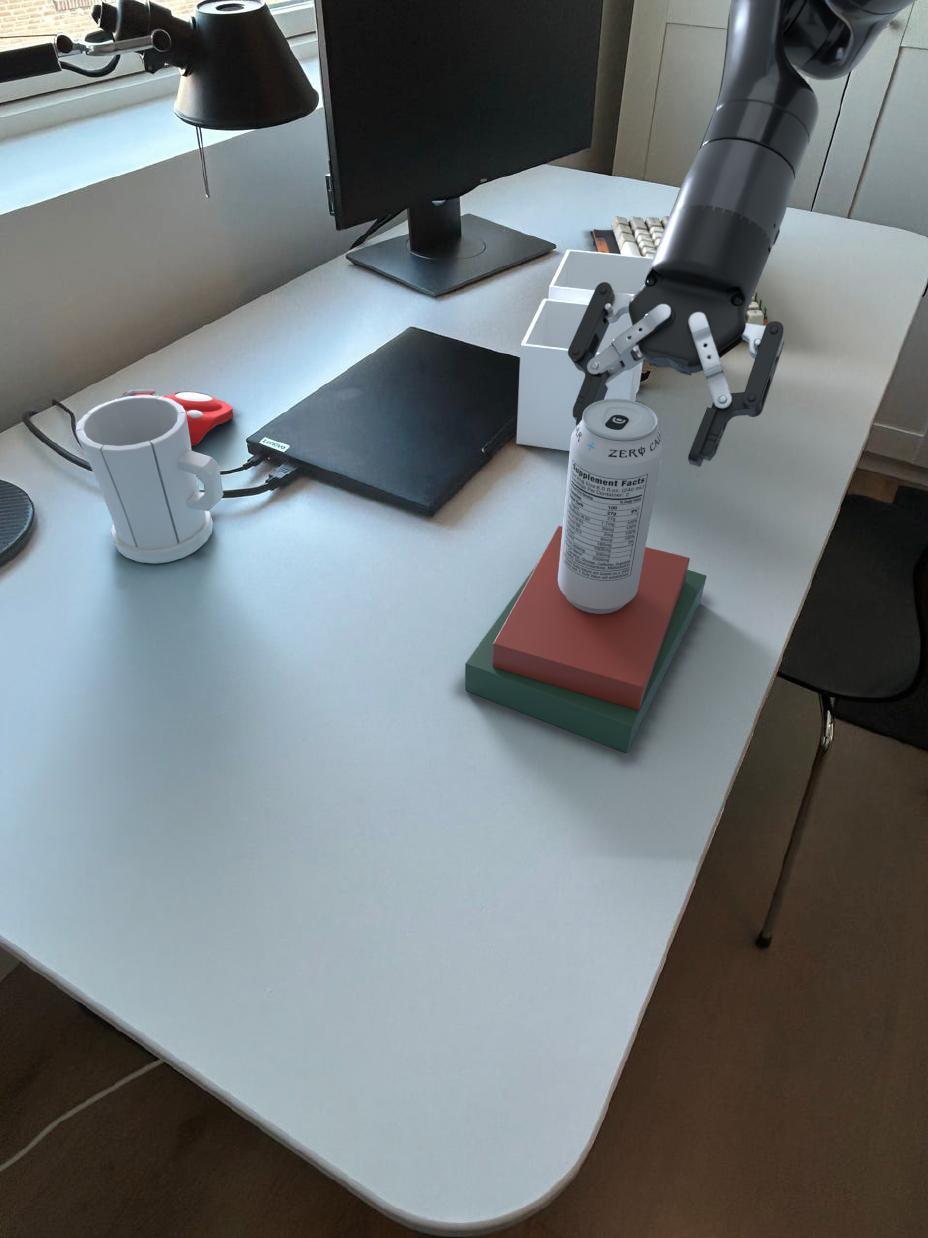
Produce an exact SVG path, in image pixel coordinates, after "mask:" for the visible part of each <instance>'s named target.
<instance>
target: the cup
mask: <svg viewBox="0 0 928 1238" xmlns="http://www.w3.org/2000/svg"><path fill="white" fill-rule="evenodd" d="M75 435H76V437H77V440H78V442H79V444H80V446H81V449H82V451H83V453H84V455H85V457H86V460H87V463H88V464H89V466H90V468H91V471H92V473H93V475H94V477H95V480H96V482H97V485H98V488H99V489H100V491H101V494H102V496H103V499H104V502H105V504H106V507H107V510H108V513H109V515H110V518H111V521H112V525H111V531H110V533H111V537H112V539H113V543H114V545H115V547H116V550H117V551H118V552H119V553H120V554H121V555H122V556H124V557H125V558H126V559H129V560H132V561H135V562H138V563H146V564H164V563H171V562H174V561H177V560H180V559H181V560H182V559H184V558H186V557H188V556H189V555H192V554H193V553H195V552H197V550H199V549H200V548H201V547H202V546H203V545H205V544H206V543H207V542H208V540H209V538H210V536H211V535H212V534H213V524H214V522H213V518H212V514H211V512H210V511H211V509H212V508H214V507H215V506H216V505H217V504H218V503H219V502H221V500H222V498H223V496H224V488H223V482H222V476H221V475H222V474H221V469H220V468H221V467H220V464H218V462H217V461H216V460H215V459H214V458H213V457H212V456H209V455H206V454H203V453H200V452H196V451H194V450H192V446H191V443H190V436H189V430H188V423H187V416H186V412H185V410H184V409H183V407H182V406H181V405H180V404H178V403H177V402H175V401H174V400H172V399H168V398H165V397H161V395H160V396H159V395H153V396H152V395H138V396H127V397H123V398H119V399H116V398H115V399H112V400H108V401H106V402H104V403H101V404H98V405H96V406H95V407H94V408H92V409H90V410H88V411H87V412H86V413H84V415H83V416H82V417H81V418H80V419H79V421H78V422H77V423H76V428H75ZM198 480H200V482H201V483H202V484H203V489H204V490H203V491H201V490H200V486H199V485H200V484H199V481H198Z"/></svg>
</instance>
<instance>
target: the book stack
mask: <svg viewBox="0 0 928 1238" xmlns="http://www.w3.org/2000/svg"><path fill="white" fill-rule="evenodd" d="M562 529H563V525H562V526H561V525H558V526H557V527H556V529H555V531H554V533H553V535H552V537H551V539H550V540H549V542H548V543H547V546H546V547H545V549H544V551H543V553H542V555H541V557H540V558H539V560H538V562H537V563H536V564H535V566H534V567H533V569H532V570H531V571H530V573H529V574H528V576H527V577H526V578H525V580H524V581H523V582H522V584H521V585H520V586H519V588H518V589H517V591H516V592H515V594H514V595H513V596H512V598H511V599H510V601H508V603H507V604H506V606H505V607H504V609H503V610H502V612H501V613H500V614H499V616H498V617H497V619H496V620H495V622H494V623H493V624H492V626H491V627H490V628H489V630H488V631H487V633H486V634H485V636H484V637H483V638H482V640H480V642H479V643H478V645H477V646H476V648H475V649H474V651H473V652H472V653H471V655H470V656H469V657H468V659H467V660H466V661H465V663H464V672H465V673H464V675H465V676H464V681H465V683H464V685H465V687H464V688H465V691H466V692H468V693H471V694H474V695H476V696H479V697H482V698H484V699H486V700H489V701H491V702H494V703H497V704H500V705H502V706H504V707H507V708H510V709H512V710H515V711H517V712H520V713H523V714H525V715H528V716H530V717H533V718H535V719H537V720H541V721H543V722H546V723H549V724H551V725H553V726H556V727H559V728H561V729H564V730H567V731H568V732H572V733H574V734H577V735H580V736H581V737H585V738H587V739H589V740H592V741H595V742H597V743H600V744H602V745H605V746H607V747H611V748H612V749H616V750H618V751H621V752H623V753H626V754H627V753H628V752H629V750H630V747H631V746H632V744H633V741H634V739H635V738H636V735H637V733H638V731H639V729H640V727H641V725H642V723H643V721H644V719H645V717H646V715H647V713H648V711H649V709H650V706H651V704H652V703H653V700H654V698H655V696H656V694H657V692H658V690H659V688H660V686H661V684H662V682H663V680H664V678H665V675H666V673H667V672H668V669H669V668H670V665H671V663H672V662H673V660H674V658H675V655H676V653H677V651H678V649H679V647H680V645H681V643H682V640H683V639H684V637H685V634H686V632H687V630H688V628H689V626H690V624H691V623H692V620H693V618H694V616H695V614H696V612H697V610H698V608H699V606H700V603H701V601H702V596H703V592H704V588H705V585H706V580H707V576H708V575H706V574H703V573H700V572H697V571H694V570H690V569H689V564H690V561H691V558H690V557H688V556H684V555H680V554H676V553H673V552H668V551H665V550H660V549H656V548H652V547H647V546H645V552H644V558H643V563H642V569H641V574H640V580H639V586H638V591H637V593H636V595H635V596H634V598H633V599H632V600H631V601H629V602H628V603H626V604H625V605H624V606H623V607H622V608H620V609H619V610H617V611H614V612H611V613H604V614H595V613H589V612H586V611H583V610H580V609H578V608H576V607H575V606H573V605H572V604H571V603H570V602H569V601H568V600H567V598H566V596H565V595H564V594H563V593H562V591H561V590H560V587H559V585H558V572H559V561H560V550H561V540H562Z"/></svg>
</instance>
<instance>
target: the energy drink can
mask: <svg viewBox="0 0 928 1238" xmlns="http://www.w3.org/2000/svg"><path fill="white" fill-rule="evenodd" d="M658 423H659V419H658V416H657V414H656V413H655V411H654V410H652V409H651V408H650V407H649V406H647V405H645V404H643V403H641V402H637V401H636V400H635V401H631V400H625V399H606V400H601V401H598V402H595V403H593V404H591V405H589V406H588V407H587V408H586V409H585V410H584V412H583V416H582V420H581V422H580V423H579V424H578V425H577V427H576V428H575V430H574V431H573V433H572V436H571V443H570V451H569V453H568V454H569V455H568V456H569V457H568V464H567V465H568V466H567V477H566V486H565V487H566V488H565V499H564V507H563V508H564V509H563V518H562V519H563V521H562V527H563V529H562V540H561V550H560V561H559V572H558V585H559V587H560V590H561V591H562V593H563V594H564V595H565V596H566V598H567V600H568V601H569V602H570V603H571V604H572V605H573V606H575V607H576V608H578V609H580V610H583V611H586V612H589V613H595V614H604V613H611V612H614V611H617V610H619V609H620V608H622V607H623V606H624V605H625V604H626V603H628V602H629V601H631V600H632V599H633V598H634V596H635V595H636V593H637V591H638V586H639V580H640V574H641V569H642V563H643V558H644V552H645V547H647V546H646V545H647V540H648V536H649V535H648V534H649V529H650V523H651V518H652V512H653V506H654V501H655V496H656V489H657V484H658V479H659V473H660V467H661V462H662V461H661V460H662V456H663V450H664V440H663V437H662V435H661V432H660V430H659V428H658Z"/></svg>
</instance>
